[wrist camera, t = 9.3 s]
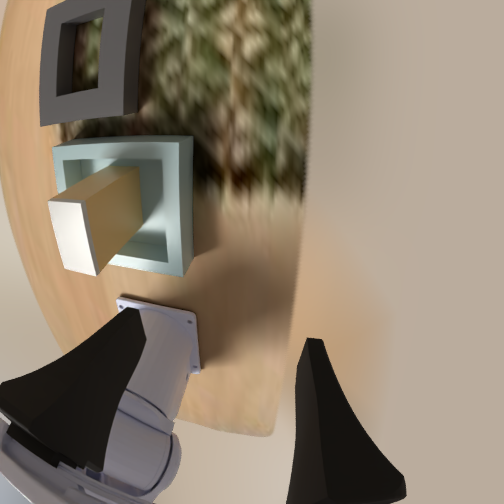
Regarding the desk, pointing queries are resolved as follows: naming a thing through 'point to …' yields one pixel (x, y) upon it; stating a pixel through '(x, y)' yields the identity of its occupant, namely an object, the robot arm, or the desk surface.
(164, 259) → the parts tray
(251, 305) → the desk surface
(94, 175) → the white and tan block
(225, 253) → the desk surface
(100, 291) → the desk surface
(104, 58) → the dark gray rectangular frame
